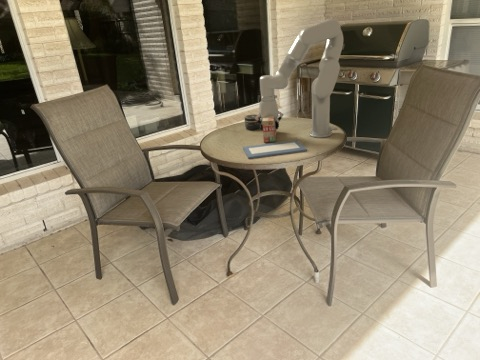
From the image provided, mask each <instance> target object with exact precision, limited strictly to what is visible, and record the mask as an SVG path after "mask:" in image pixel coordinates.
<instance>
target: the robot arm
mask: <svg viewBox="0 0 480 360" xmlns="http://www.w3.org/2000/svg"><path fill="white" fill-rule="evenodd" d="M341 28H342V27H341V23H340V22H339V21H338V20H337V19H335V18H327V19H324V21H322V22H321V23H318V24H315V25H311V26H306V27H303V28H301V30H300V31H299V33H298V34H297V36H296V38H295V40H294V41H293V43H292V45H291V47H290V48H289V50H288V52H287V54H286V56H285V57H284V60H283V61H282V63H281V64H280V66H279V68H278V70H277V72H276V73H275V75H274V76H273V75H271V74H268V75H267V74H266V75H261V76H260V77H259V87H260V88H259V89H260V102H259V113H258V114H256V115H257V116H256V117H255V119H256V120H257V121H258V122H259V123H260V124H261V127H260V130H261V131H262V132H263V125H262V120H263V117H270V116H274V118H275V120H276V122H275V126H276V129H277V130H279V127H280V123H279V122H280V121H281V120H282V118H283V116H284V113H282V112H281V111H280V110H279V108H278V104H277V103H278V102H277V100H276V99H277V98H278V95H276V94H275V90H285V89H286V88H287V87H288V86H289V78H290V77H291V76H292V74H293V72H294V71H295V69H296V68H297V67H298V66H299V65H300V64H301V63H302V62H303V60H304V59H305V56H307V53H308V51H309V50H310V48H311V47H312V46H314V45H317V44H319V43H322V42H325V47H324V50H323V53H322V56H321V58H320V61H319V64H318V70H319V72H318V76H317V77H316V78H315V79H314V80H313V81H312V82H311V130H310V131H309V134H308V135H309V136H310V137H312V138H319V139H320V138H329V137H331V136H332V135H333V131H338V130H339V128H338V126H334V125H332V126H331V125H330V110H331V108H330V107H331V106H330V105H331V95H332V93H333V91H334V88H335V85H336V84H337V80H338V77H339V74H340V69H341V67H340V66H341V65H340V62H339V61H340V60H339V59H340V56H341V53H342V50H343V45H344V34H343V31H342V29H341ZM259 117H260V118H261V121H260V120H259V119H258V118H259Z"/></svg>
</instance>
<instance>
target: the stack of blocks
mask: <svg viewBox="0 0 480 360" xmlns="http://www.w3.org/2000/svg"><path fill="white" fill-rule="evenodd" d="M275 122H276V120H275V118H274V116H270V117H263V120H262V125H263V131H262V134H263V143H276V138H277V131H278V129H276V126H275Z"/></svg>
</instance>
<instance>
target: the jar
mask: <svg viewBox="0 0 480 360" xmlns="http://www.w3.org/2000/svg"><path fill="white" fill-rule="evenodd" d="M257 115H258V114H247V115H245V116H244V127H245V129H246V130H247V131H257V130H259V129H261V124H260V123H259V122H258V121H257V120H256V119H255V117H256V116H257ZM258 119H259V120H260V121H261V118H260V117H259V118H258Z"/></svg>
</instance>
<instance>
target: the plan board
mask: <svg viewBox="0 0 480 360" xmlns="http://www.w3.org/2000/svg"><path fill="white" fill-rule="evenodd" d="M242 150H243V152H244V153H245V155H246V157H247V159H248V160H251V159H252V160H253V159H256V158H257V159H258V158H265V156H267V157H272V155H274V156H280V154H281V155H288V153H289V154H294V153H301V152H307V150H308V148H307V147H305V146H304V145H303V144H302V143H301V142H300V141H299V140H297V139H294V140H293V139H292V140H288V141H287V140H285V141H278V142H269V143H265V144H256V145H249V146H242Z"/></svg>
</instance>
